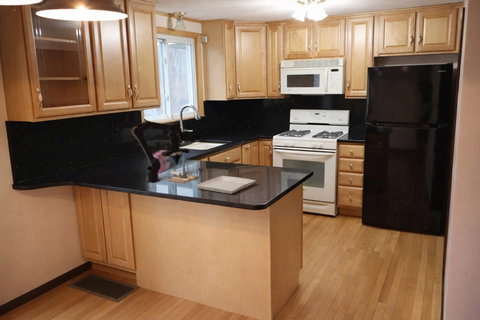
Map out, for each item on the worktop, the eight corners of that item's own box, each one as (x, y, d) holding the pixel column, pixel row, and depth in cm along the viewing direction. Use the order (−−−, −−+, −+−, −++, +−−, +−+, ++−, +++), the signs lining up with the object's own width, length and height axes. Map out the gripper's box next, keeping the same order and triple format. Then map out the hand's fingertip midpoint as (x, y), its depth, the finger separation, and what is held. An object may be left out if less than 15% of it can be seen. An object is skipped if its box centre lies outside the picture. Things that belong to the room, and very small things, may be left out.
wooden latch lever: (188, 176, 272) (188, 172, 271) (183, 178, 268) (183, 173, 267) (173, 175, 279) (173, 170, 278) (168, 176, 275) (168, 172, 274)
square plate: (195, 190, 245) (195, 184, 244) (222, 180, 267) (221, 175, 266) (231, 196, 230) (231, 190, 229) (256, 185, 252) (256, 179, 251)
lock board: (184, 183, 262) (184, 180, 261) (168, 181, 269) (167, 178, 269) (198, 178, 274) (198, 175, 274) (182, 176, 282) (182, 174, 281)
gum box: (161, 166, 319) (160, 149, 316) (171, 166, 317) (170, 149, 314) (149, 173, 296) (148, 155, 293) (159, 173, 294) (158, 155, 291)
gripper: (180, 139, 285) (182, 160, 288) (156, 142, 274) (158, 165, 277) (188, 140, 277) (190, 163, 280) (164, 144, 265) (166, 167, 269)
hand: (176, 164), depth 277 cm, fingers closed
